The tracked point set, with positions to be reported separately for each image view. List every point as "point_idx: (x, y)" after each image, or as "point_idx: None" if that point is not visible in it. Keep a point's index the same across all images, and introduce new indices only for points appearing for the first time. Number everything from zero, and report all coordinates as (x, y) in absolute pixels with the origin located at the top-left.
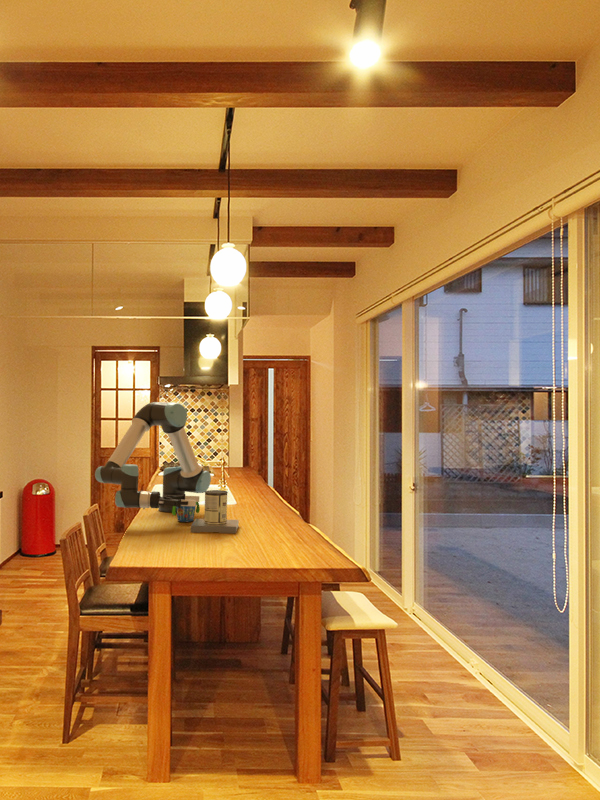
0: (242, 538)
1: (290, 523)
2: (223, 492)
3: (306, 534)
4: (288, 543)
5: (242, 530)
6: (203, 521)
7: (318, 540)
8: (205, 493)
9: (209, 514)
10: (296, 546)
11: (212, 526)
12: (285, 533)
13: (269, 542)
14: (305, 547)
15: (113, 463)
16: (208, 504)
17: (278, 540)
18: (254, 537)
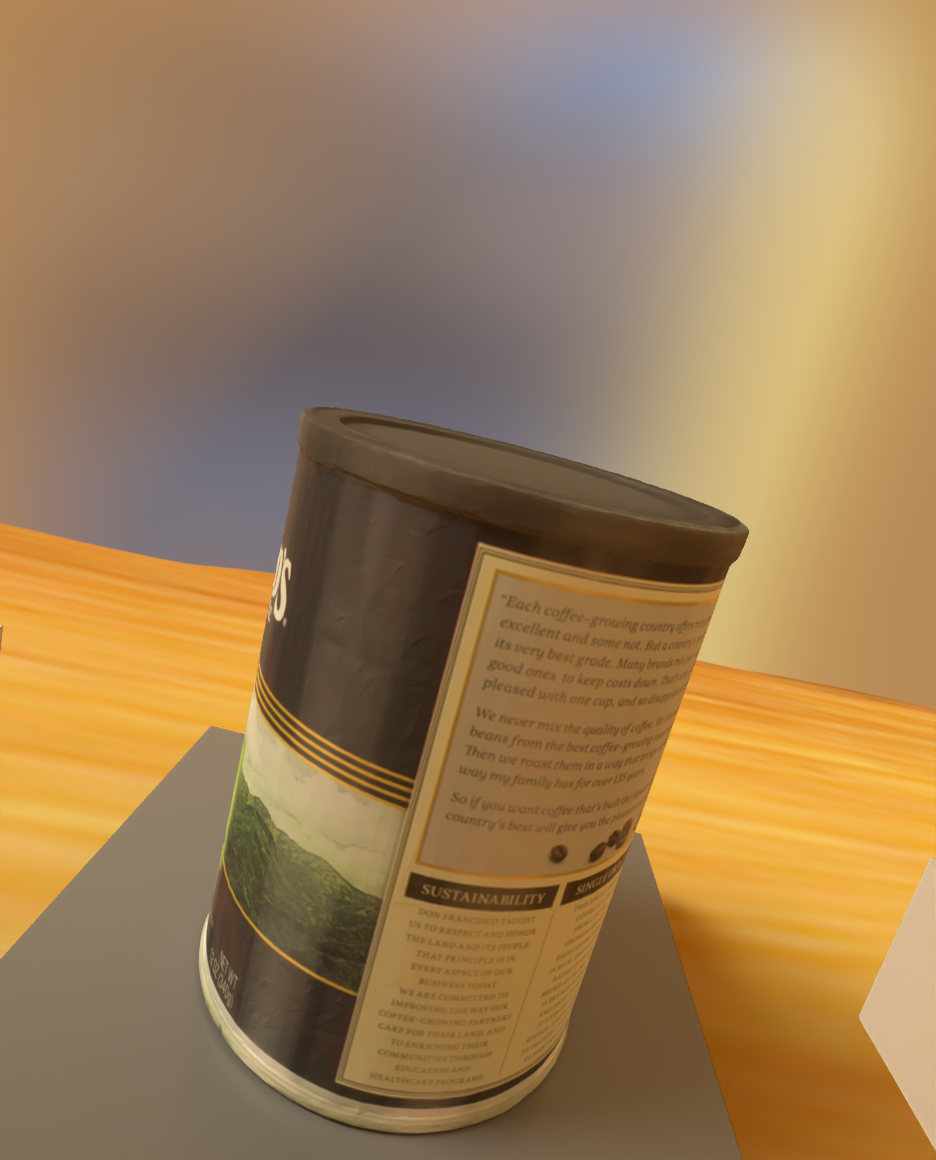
0: (830, 905)
1: (178, 582)
2: (563, 467)
3: None
4: (822, 754)
5: None
6: (259, 1132)
7: None
8: (640, 552)
9: (597, 925)
10: (876, 753)
11: (705, 1054)
12: None
13: (859, 809)
14: (873, 737)
15: None
16: (647, 767)
17: (765, 761)
18: (737, 829)
